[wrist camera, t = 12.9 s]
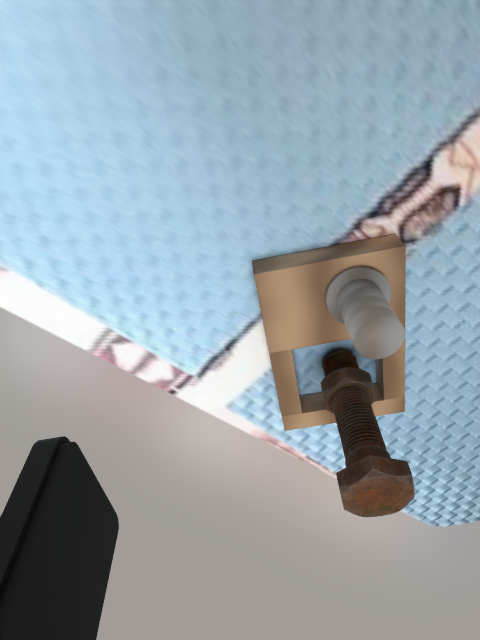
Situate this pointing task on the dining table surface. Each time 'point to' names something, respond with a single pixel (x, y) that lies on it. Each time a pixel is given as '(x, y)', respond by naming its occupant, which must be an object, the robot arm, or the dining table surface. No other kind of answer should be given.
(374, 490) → the bolt
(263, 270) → the wooden peg holder
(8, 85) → the dining table surface
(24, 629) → the robot arm
